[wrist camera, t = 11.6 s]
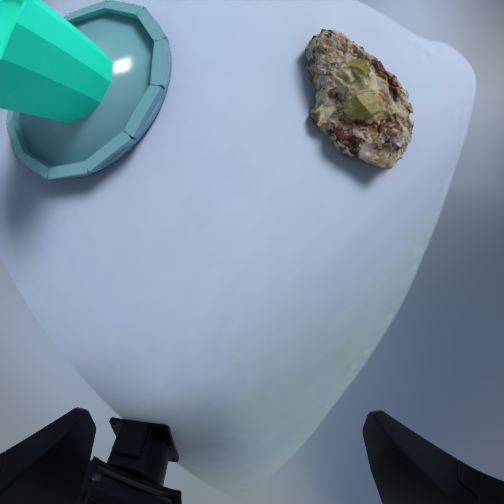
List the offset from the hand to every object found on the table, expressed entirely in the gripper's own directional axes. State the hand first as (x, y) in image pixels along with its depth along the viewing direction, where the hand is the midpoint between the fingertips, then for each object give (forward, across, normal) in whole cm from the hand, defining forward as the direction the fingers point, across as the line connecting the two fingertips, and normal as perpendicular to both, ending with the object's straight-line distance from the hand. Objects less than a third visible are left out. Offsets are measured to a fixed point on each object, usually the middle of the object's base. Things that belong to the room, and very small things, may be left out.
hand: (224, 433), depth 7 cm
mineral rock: (+14, -9, -13) cm, 21 cm away
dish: (+13, +11, -15) cm, 23 cm away
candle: (+12, +11, -15) cm, 22 cm away
